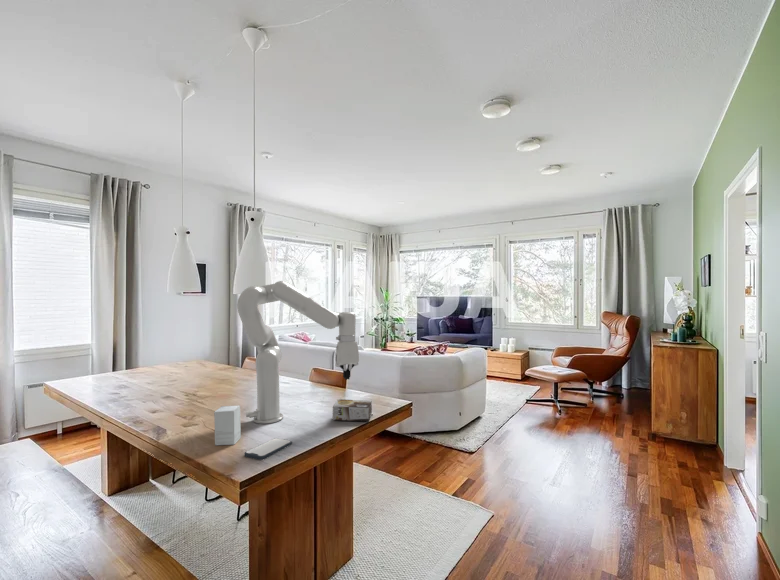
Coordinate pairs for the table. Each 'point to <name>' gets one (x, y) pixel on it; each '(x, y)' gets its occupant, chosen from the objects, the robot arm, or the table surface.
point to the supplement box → (227, 425)
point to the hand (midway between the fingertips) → (346, 378)
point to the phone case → (267, 448)
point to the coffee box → (352, 410)
